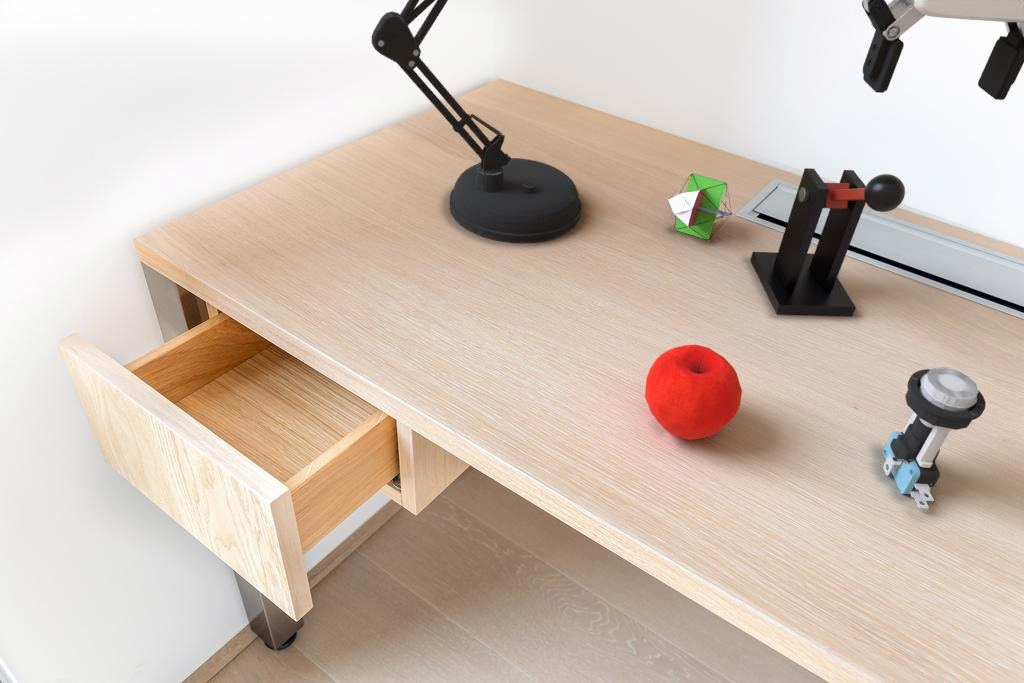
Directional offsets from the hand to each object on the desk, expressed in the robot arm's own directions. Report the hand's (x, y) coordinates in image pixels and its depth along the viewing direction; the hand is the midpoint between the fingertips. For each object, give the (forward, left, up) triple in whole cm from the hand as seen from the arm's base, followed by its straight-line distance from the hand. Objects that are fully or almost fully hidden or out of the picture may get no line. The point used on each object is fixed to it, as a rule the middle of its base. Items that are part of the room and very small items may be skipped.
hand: (932, 89), depth 63 cm
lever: (+1, -3, -13) cm, 13 cm away
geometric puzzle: (+10, -19, -25) cm, 33 cm away
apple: (+18, +13, -25) cm, 33 cm away
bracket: (+1, -8, -25) cm, 26 cm away
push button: (+1, +19, -25) cm, 31 cm away
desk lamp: (+30, -23, -25) cm, 45 cm away
